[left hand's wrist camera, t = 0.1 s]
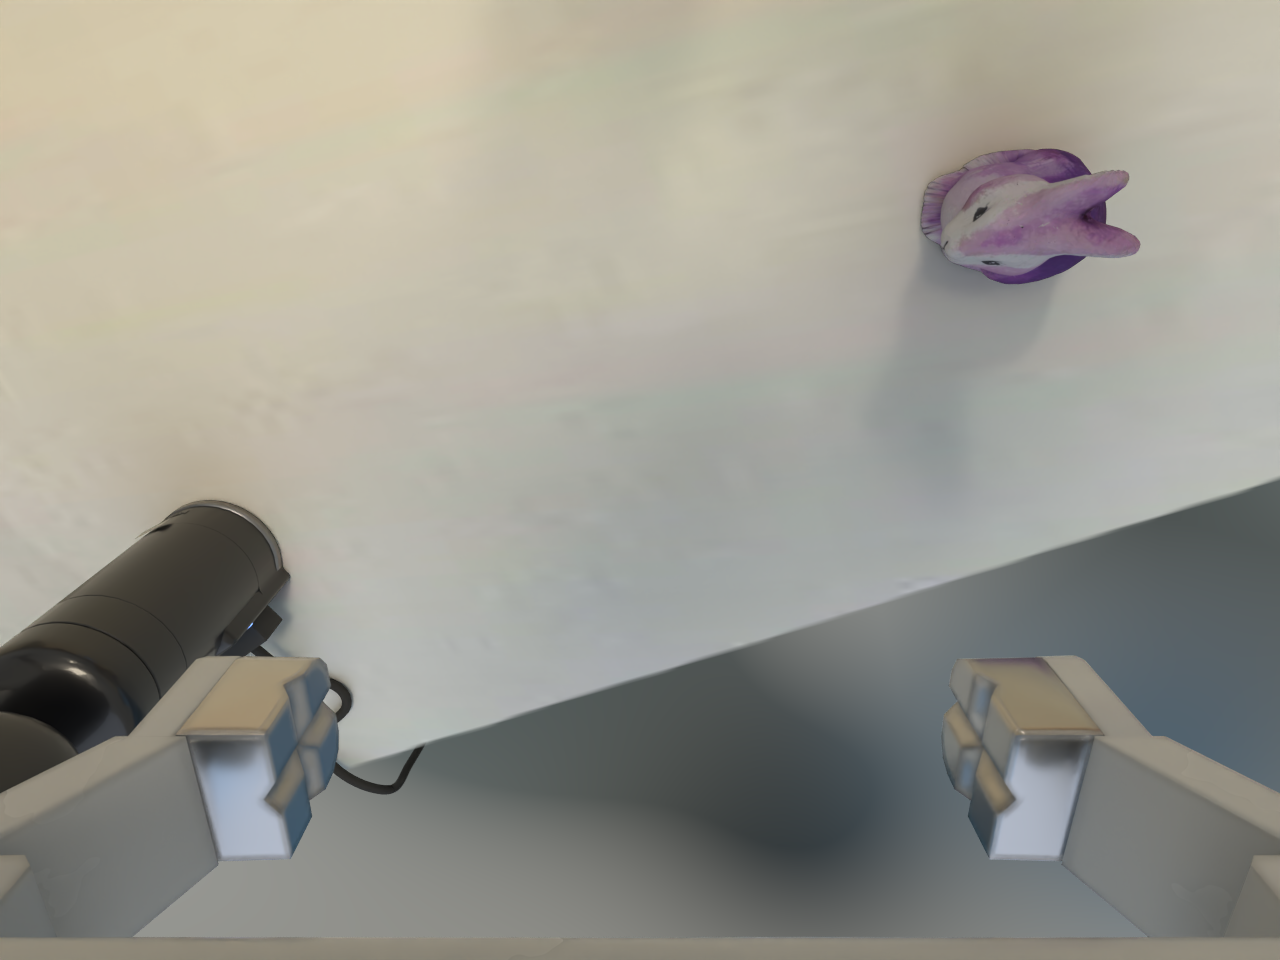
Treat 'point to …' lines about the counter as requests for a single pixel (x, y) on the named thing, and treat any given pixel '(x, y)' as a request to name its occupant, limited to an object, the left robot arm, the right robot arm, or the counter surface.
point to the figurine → (1024, 215)
